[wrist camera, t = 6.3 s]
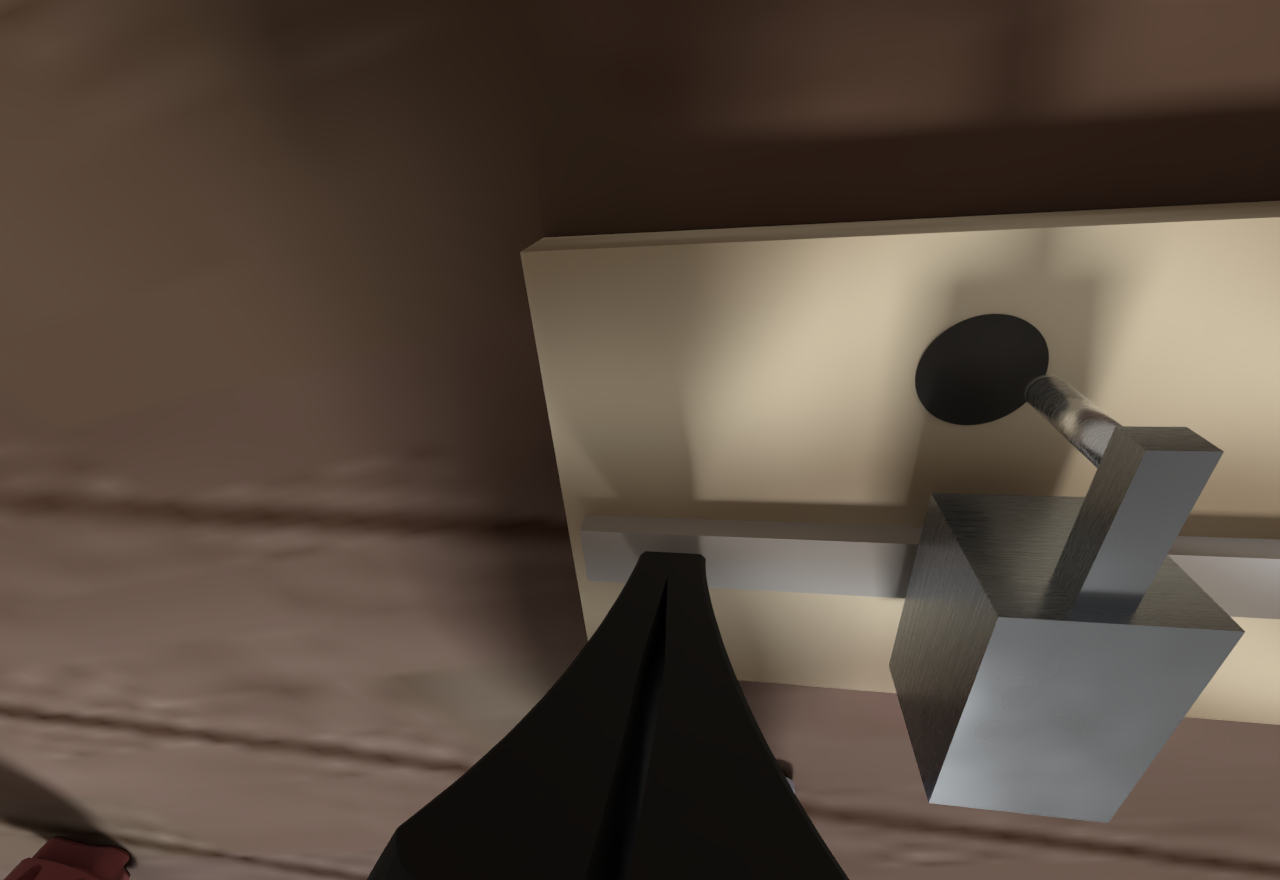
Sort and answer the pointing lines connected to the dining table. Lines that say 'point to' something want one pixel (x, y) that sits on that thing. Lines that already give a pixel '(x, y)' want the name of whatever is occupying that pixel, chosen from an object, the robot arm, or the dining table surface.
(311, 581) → the dining table surface
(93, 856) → the mechanical component
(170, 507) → the dining table surface
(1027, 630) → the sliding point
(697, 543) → the hole board
